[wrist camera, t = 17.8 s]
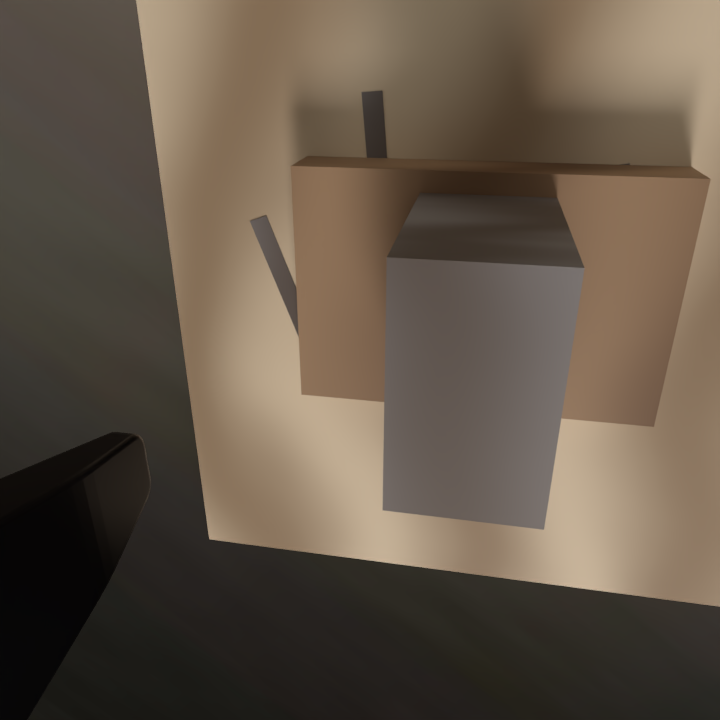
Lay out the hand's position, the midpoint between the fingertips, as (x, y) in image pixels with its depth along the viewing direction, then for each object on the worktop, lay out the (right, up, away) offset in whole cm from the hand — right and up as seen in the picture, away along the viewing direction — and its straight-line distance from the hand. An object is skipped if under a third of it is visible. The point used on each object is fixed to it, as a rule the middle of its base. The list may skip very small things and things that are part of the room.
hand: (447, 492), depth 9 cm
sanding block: (+2, +4, +8) cm, 9 cm away
